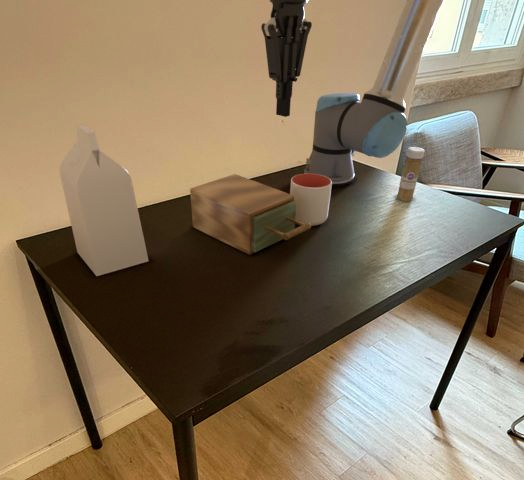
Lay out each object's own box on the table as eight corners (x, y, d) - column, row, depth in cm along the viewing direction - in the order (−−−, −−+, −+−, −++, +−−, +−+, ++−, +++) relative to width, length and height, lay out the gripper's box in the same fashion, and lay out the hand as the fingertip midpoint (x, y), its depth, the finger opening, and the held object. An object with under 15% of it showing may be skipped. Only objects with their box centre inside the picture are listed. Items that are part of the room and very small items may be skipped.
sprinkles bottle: (399, 201, 127) (410, 151, 118) (394, 195, 130) (405, 146, 122) (415, 201, 127) (427, 151, 118) (409, 195, 131) (421, 146, 122)
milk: (148, 261, 97) (128, 132, 81) (96, 276, 92) (63, 141, 75) (126, 239, 105) (104, 117, 88) (77, 252, 100) (43, 125, 83)
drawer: (316, 243, 104) (320, 210, 99) (277, 263, 97) (279, 229, 92) (239, 210, 117) (239, 180, 112) (200, 226, 109) (198, 194, 104)
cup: (282, 223, 114) (285, 183, 107) (295, 208, 121) (298, 170, 114) (320, 230, 111) (325, 190, 105) (331, 215, 118) (336, 177, 112)
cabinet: (291, 234, 109) (294, 195, 103) (249, 255, 101) (250, 214, 95) (235, 210, 119) (234, 173, 113) (192, 227, 111) (189, 188, 105)
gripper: (281, -23, 79) (275, 123, 94) (326, -22, 86) (314, 113, 102) (251, -25, 83) (250, 116, 98) (296, -24, 90) (289, 107, 105)
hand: (282, 115), depth 100 cm, fingers closed
